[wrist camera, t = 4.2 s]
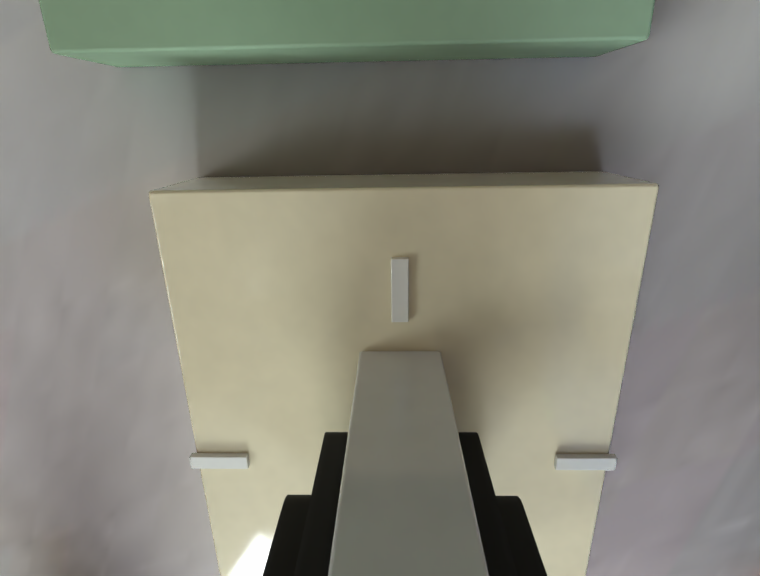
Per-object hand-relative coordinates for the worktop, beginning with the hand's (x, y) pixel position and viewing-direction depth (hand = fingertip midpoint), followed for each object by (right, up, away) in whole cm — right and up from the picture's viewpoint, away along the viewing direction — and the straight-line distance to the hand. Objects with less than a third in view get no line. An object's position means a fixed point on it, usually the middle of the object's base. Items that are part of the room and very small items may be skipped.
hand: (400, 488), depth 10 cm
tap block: (0, +1, +3) cm, 3 cm away
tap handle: (0, 0, +1) cm, 1 cm away
